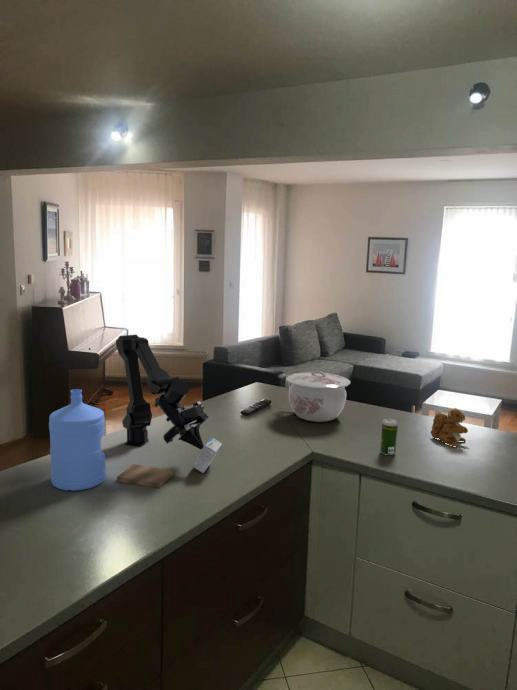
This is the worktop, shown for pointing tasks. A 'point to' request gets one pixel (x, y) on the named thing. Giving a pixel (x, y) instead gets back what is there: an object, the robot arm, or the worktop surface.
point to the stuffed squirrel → (449, 427)
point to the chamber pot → (317, 395)
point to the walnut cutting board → (145, 475)
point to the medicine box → (207, 455)
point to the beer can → (388, 437)
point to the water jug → (77, 445)
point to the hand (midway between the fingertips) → (202, 448)
